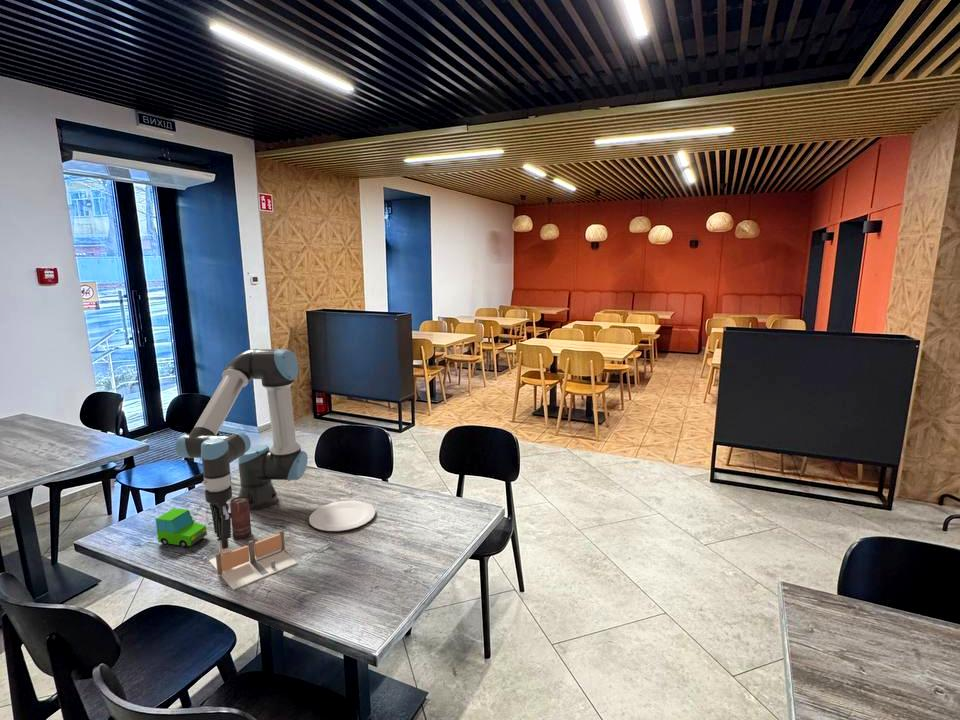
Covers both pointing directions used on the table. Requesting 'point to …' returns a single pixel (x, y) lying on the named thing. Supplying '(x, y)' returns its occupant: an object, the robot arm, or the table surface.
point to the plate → (342, 516)
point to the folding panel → (232, 559)
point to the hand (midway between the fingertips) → (224, 556)
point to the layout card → (256, 568)
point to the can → (240, 518)
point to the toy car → (179, 528)
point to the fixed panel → (266, 546)
